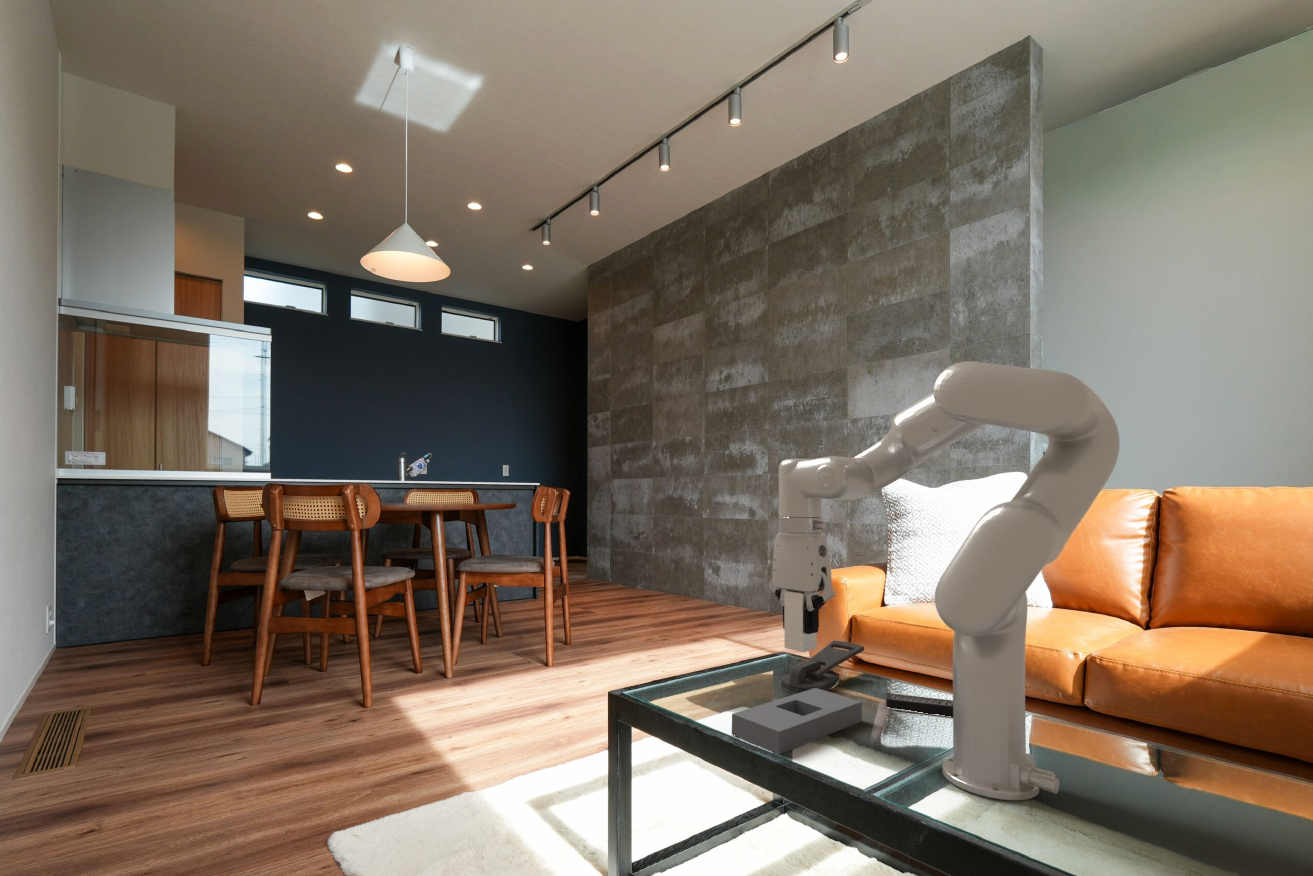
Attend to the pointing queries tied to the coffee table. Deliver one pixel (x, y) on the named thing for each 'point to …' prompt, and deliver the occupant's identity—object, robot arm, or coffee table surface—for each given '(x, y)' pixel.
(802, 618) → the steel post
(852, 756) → the coffee table surface
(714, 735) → the coffee table surface
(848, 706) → the grey block with hole
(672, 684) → the coffee table surface
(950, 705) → the multiport hub
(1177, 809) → the coffee table surface
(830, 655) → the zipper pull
